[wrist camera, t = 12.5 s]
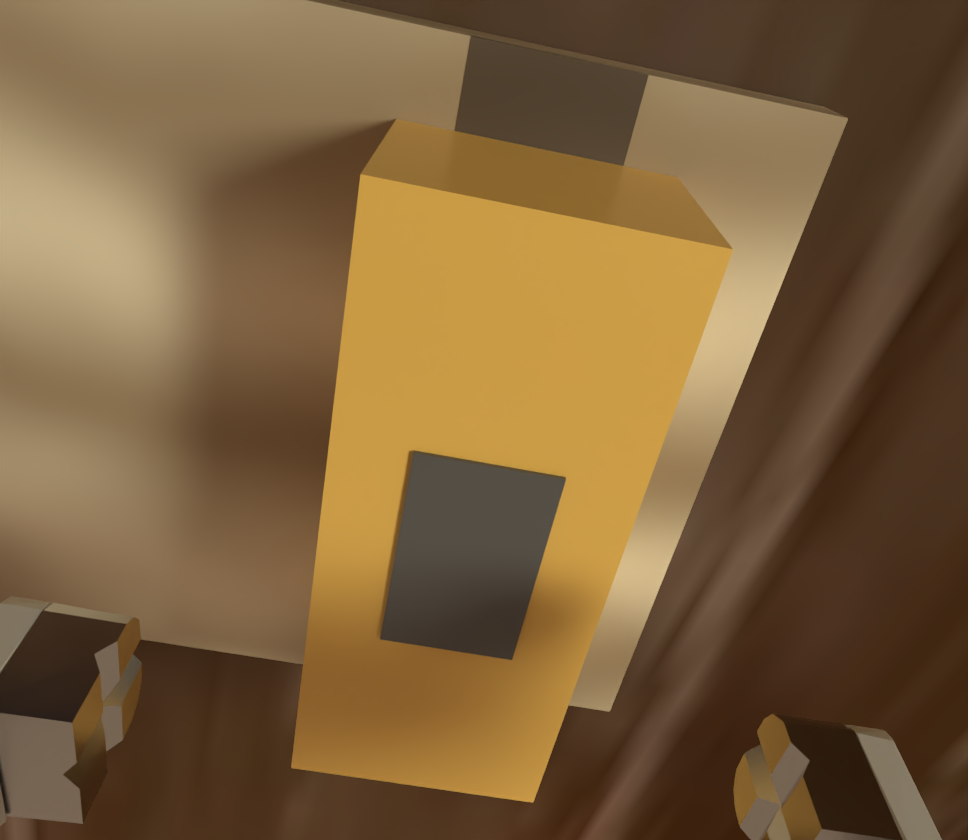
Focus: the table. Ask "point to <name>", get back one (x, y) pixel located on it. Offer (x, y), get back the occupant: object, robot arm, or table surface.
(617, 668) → the plywood panel
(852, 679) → the table surface
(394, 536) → the block
